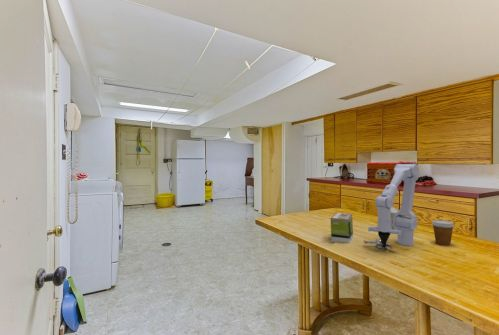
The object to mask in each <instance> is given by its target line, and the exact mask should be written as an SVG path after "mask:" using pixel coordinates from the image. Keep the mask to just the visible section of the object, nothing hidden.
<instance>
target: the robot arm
mask: <svg viewBox="0 0 499 335" xmlns="http://www.w3.org/2000/svg"><path fill="white" fill-rule="evenodd" d="M393 172H394V175H393V177H392V179H391V181H390V184H387V185H386V186H385V188H384V189H383V191H382V193H381V194H380V195H379V196H377V197H375V201H374V204H375V207H376V210H377V226H368V227H367V230H368V231H367V232H376V233H377V234H378V238H379V239H381V241H382V245H383V247H384V248H386V243H387V244H388V240H389V238H390V236H391V234H392V235H397V244H399V245H401V246H402V245H403V246H408V247H410V246H411V247H412V246H414V231H415V230H416V229H417V227H418V216H417V215H416V214H415V213H414V212H413V205H414V196H415V189H416V181H418V180H419V175H420V169H419V166H418V165H417V163H405V164H403V163H397V164H396V165H395V166H394V168H393ZM402 181H403V187H402V188H403V190H402V197H401V205H400V209H399V210H400V211H398V212H397V213H396V215H395V217H394V220H393V222H394V225H395V226H396V228H398V230H396V229H391V208H392V207H394V201H395V197H396V195H397V193H398V191H399V189H398V187H399V185H400V184H401V183H402ZM403 216H406V217H403Z"/></svg>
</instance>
